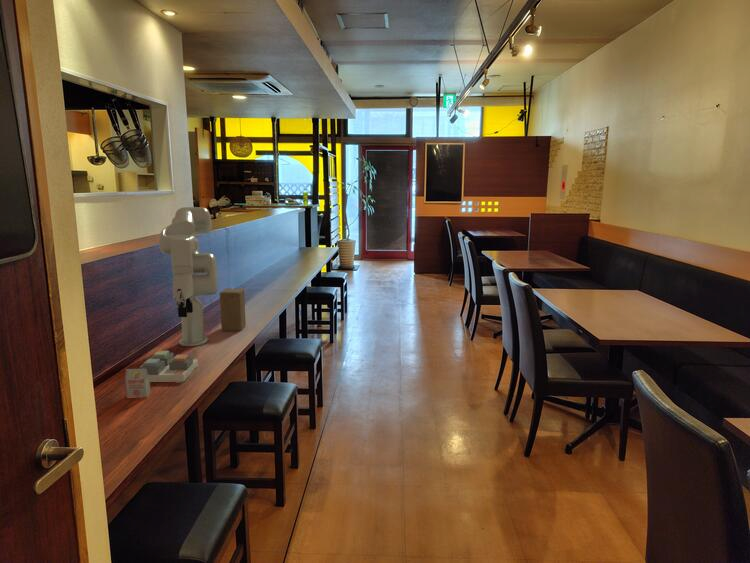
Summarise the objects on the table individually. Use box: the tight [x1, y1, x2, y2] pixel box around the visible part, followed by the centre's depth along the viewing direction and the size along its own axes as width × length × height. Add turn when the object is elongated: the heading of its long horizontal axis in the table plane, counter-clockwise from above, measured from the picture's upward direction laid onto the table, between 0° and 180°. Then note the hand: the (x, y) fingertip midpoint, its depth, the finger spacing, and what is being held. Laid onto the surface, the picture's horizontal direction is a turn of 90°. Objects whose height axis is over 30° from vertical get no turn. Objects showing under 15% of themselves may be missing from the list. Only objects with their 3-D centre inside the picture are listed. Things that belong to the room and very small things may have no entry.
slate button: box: [143, 358, 160, 366], centre depth 178 cm, size 4×4×2 cm
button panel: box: [138, 352, 199, 382], centre depth 183 cm, size 16×16×6 cm
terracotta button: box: [173, 354, 189, 362], centre depth 183 cm, size 4×4×2 cm
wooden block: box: [219, 288, 247, 332], centre depth 242 cm, size 10×10×20 cm
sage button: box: [153, 350, 170, 358], centre depth 187 cm, size 4×4×2 cm
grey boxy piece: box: [124, 368, 152, 398], centre depth 164 cm, size 4×7×10 cm, turn 96°
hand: (185, 314), depth 188 cm, fingers open, 5 cm apart
